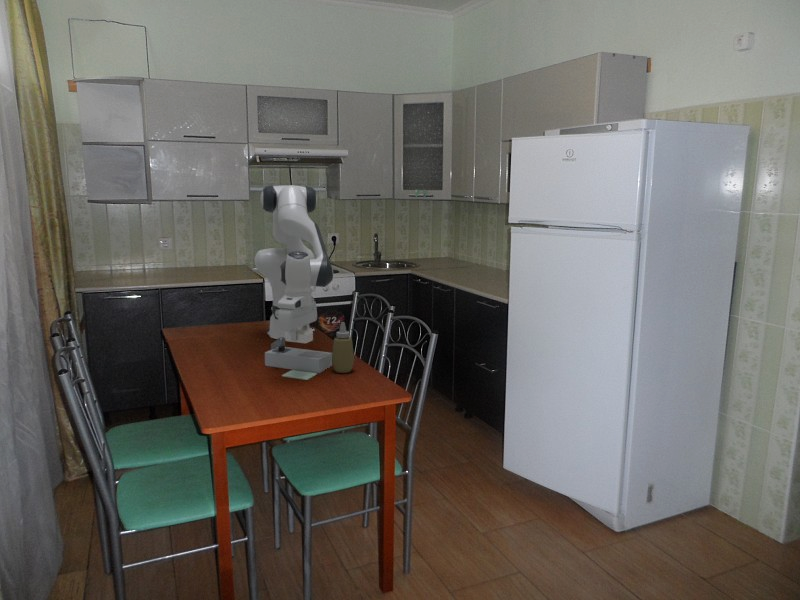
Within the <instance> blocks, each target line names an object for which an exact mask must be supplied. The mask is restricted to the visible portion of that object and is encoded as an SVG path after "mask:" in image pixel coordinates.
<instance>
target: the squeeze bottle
mask: <svg viewBox="0 0 800 600" xmlns="http://www.w3.org/2000/svg"><path fill="white" fill-rule="evenodd" d="M345 323H346V322H344V321H341V322H340V327H339V331H336V333H335V335H336V336H335V337H334V339H333V344H332V345H333V346H332V352H331V353H332V367H333V369H334V372H336V373H340V374H346V373H351V372H352V368H353V367H354V363H355V355H354V354H355V353H354V347H353V346H354V345H353V339H352V338H351V337H350V331H348V330H347V327H346V324H345Z"/></svg>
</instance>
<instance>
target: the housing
mask: <svg viewBox="0 0 800 600" xmlns="http://www.w3.org/2000/svg"><path fill="white" fill-rule="evenodd" d="M332 353H333V352H329V351H322V350H321V351H320V350H312V349H305V348H303V349H302V348H296V347H291V346H290V347H288V346H285V350H278V347H277V348H276V349H270V350H267V351H265V352H264V366H266V367H270V368H273V367H274V368H277V369H278V368H280V369H287V370H297V371H304V372H311V373H317V374H321V373H322V372H324V371H325V369H326V370H328V369H329V368H331V367H333V364H332ZM330 366H331V367H330ZM327 368H328V369H327Z"/></svg>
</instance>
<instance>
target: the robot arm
mask: <svg viewBox="0 0 800 600" xmlns="http://www.w3.org/2000/svg"><path fill="white" fill-rule="evenodd" d="M260 204H261V206H262V209H263V210H264V212H267V213H273V214H272V237H273V238H274V240H276V241H277V242H279V243H280V244H281V245H284V246H285V247H269V248H264V249H259V250H258V251H257V252H256V254H255V255H254V260H253V262H254V266H255V268H256V269H257V271H258V272H259V273H261V274H262V275H263V276H264V277H265V278H266V279H267V280H268V282H269V285H270V287H271V293H272V305H271V313H272V314H271V316H270V319H269V331H267V335H268V336H269V337H270V338H271V339H275V340H278V338H280V337H284V338H285V332H288V331H289V333H290V336H291V341H296V340H298V336H297V335H296V333H295V332H296V329H300V330H309V331H310V332H313V331H314V332H316V331H315V328H313V329H312V327H310V324H311V323H314V322H316V321H317V320H318V311H317V303H316V301H315V298H314V297H313V296H312V294H313V293H312V292H313V291H312V287H318V288H319V287H320V288H326V287H327V286H328V285H329V284H331V282H332V281H333V280H334V269H333V268H334V267H333V265H332V263H331V260H330V259H329V256H328V252H327V248H326V246H325V242H324V239H323V237H322V233H321V230H320V227H319V225H318V224H317V223H316V222H314V221H313V220H312V219H311V218H310V216H309V213H313V212H314V211H315V210H316V208H317V205H318V194H317V193H316V189H315V188H314V187H311V186H301V185H293V184H289V185H285V184H284V185H267V186H265V187H264V188H263V189H262V191H261V193H260ZM303 241H306V242H308V243H309V244H310V245H311V246H312V250H313V251H312V250H311V249H310V248H308V247H307V246H306V245H305V244H304V243H303ZM314 332H313V333H314Z"/></svg>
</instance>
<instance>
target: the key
mask: <svg viewBox="0 0 800 600" xmlns="http://www.w3.org/2000/svg"><path fill="white" fill-rule="evenodd" d="M285 344H286V341H285V338H284V337H280V338H278V339H275V341H274V342H272V343H270V350H272V349H276V348H277V347H278V350H285V347H286V345H285Z"/></svg>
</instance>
